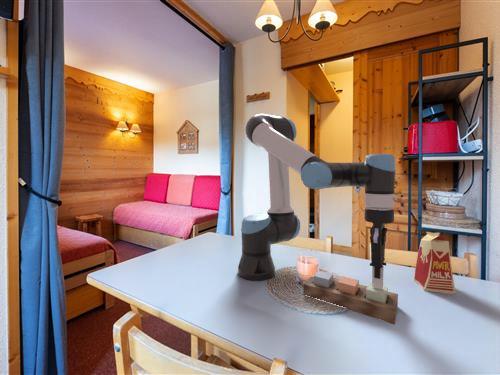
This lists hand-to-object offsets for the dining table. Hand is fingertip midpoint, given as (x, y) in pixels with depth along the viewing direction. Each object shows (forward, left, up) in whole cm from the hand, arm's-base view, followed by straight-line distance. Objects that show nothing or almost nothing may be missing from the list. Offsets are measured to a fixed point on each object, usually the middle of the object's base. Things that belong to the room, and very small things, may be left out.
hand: (377, 287), depth 70 cm
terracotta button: (-8, 0, -5) cm, 9 cm away
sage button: (0, 0, -5) cm, 5 cm away
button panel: (-8, 0, -7) cm, 11 cm away
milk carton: (+14, +27, -7) cm, 31 cm away
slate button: (-16, 0, -5) cm, 17 cm away
